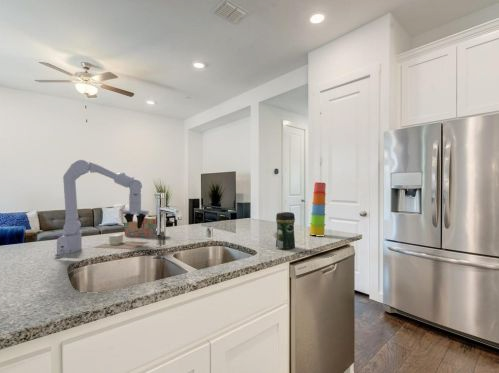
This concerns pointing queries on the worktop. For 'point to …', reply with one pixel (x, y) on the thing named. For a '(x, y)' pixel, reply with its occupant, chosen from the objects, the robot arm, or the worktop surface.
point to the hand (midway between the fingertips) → (135, 228)
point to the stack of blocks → (144, 228)
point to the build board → (122, 245)
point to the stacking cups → (318, 209)
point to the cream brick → (115, 239)
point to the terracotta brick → (133, 225)
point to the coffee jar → (285, 230)
